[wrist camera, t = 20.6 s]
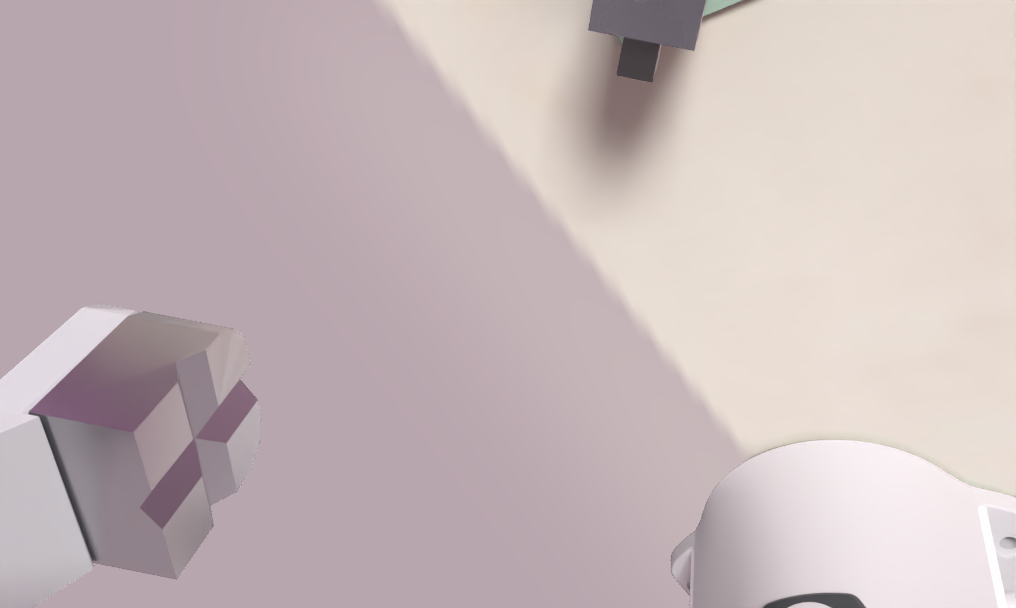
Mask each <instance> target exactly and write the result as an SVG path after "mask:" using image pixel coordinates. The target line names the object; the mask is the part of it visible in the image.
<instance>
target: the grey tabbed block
mask: <svg viewBox="0 0 1016 608" xmlns="http://www.w3.org/2000/svg"><path fill="white" fill-rule="evenodd" d="M706 3H707V0H593V5H592V11H591V17H590V23H589V29H588V30H590V31H595V32H600V33H605V34H610V35H616V36H621V37H624V39H623V44H622V49H621V55H620V60H619V66H618V71H617V75H618V76H623V77H628V78H633V79H638V80H643V81H648V82H653V79H654V76H655V73H656V70H657V66H658V61H659V56H660V52H661V47H662V45H667V46H672V47H678V48H683V49H688V50H693V51H694V49H695V45H696V42H697V38H698V34H699V30H700V26H701V22H702V19H703V15H704V11H705V7H706Z"/></svg>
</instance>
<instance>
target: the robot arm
mask: <svg viewBox="0 0 1016 608" xmlns="http://www.w3.org/2000/svg"><path fill="white" fill-rule="evenodd" d="M250 365H251V361H250V357H249V352H248V348H247V344H246V340H245V337H244V336H243V335H242V334H240V333H239V332H237V331H236V330H234V329H232V328H227V327H222V326H216V325H212V324H206V323H201V322H196V321H191V320H186V319H180V318H175V317H170V316H165V315H159V314H154V313H149V312H138V311H134V310H129V309H124V308H119V307H114V306H108V305H103V304H96V305H92V306H87V307H83V308H81V309H80V310H79V311H78V312H77V313H76V314H75V315H73V316H72V317H71V318H70V319H69V320H68V321H67V322H65V324H63V325H62V326H61V327H60V328H59V329H58V330H56V331H55V332H54V333H53V334H52V335H51V336H50V337H48V338H47V339H46V340H45V341H44V342H43V343H42V344H40V345H39V346H38V347H37V348H36V349H35V350H34V351H33V352H31V353H30V354H29V355H28V356H27V357H26V358H25V359H23V360H22V361H21V362H20V363H19V364H18V365H17V366H16V367H14V368H13V369H12V370H11V371H10V372H9V373H8V374H6V375H5V376H4V377H3V378H2V379H1V380H0V608H33V607H35V606H36V605H38V604H39V603H41V602H42V601H44V600H45V599H47V598H49V597H50V596H52V595H53V594H55V593H56V592H58V591H59V590H61V589H63V588H64V587H65V586H67V585H69V584H70V583H72V582H73V581H75V580H76V579H78V578H80V577H81V576H83V575H84V574H86V573H87V572H89V571H90V570H92V569H93V568H94V565H93V563H97V564H102V565H106V566H112V567H117V568H122V569H127V570H132V571H137V572H142V573H147V574H152V575H157V576H162V577H167V578H172V579H177V578H178V577H179V576H180V574H181V573H182V571H183V570H184V568H185V567H186V565H187V564H188V562H189V561H190V560H191V558H192V557H193V555H194V554H195V552H196V551H197V549H198V548H199V546H200V545H201V544H202V542H203V540H204V539H205V538H206V536H207V535H208V533H209V532H210V530H211V529H212V528H213V526H214V525H213V518H212V512H211V505H213V504H215V503H217V502H219V501H220V500H222V499H224V498H226V497H228V496H230V495H232V494H234V493H236V492H237V491H238V489H239V488H240V486H241V485H242V483H243V481H244V480H245V478H246V477H247V475H248V474H249V472H250V471H251V468H252V465H253V462H254V459H255V456H256V453H257V450H258V447H259V444H260V433H261V415H260V410H259V403H258V400H257V398H256V397H255V396H254V395H253V394H252V393H251V391H250V390H249V389H248V388H247V387H246V385H245V384H244V383H243V382H242V381H241V380H240V379H241V377H242V376H243V375H244V373H245V372H246V370H247V369H248V368H249V367H250ZM1006 537H1012V538H1006ZM671 572H672V575H673V576H674V578H675V579H676V580H677V582H678V583H679V584H680V585H681V586H682V587H683V589H684V590H685V591H686V592H687V593H688V594H689V595H690V608H1016V498H1015V497H1013V496H1009V495H1006V494H1002V493H998V492H994V491H990V490H986V489H981V488H977V487H972V486H970V485H968V484H966V483H964V482H962V481H960V480H958V479H956V478H955V477H953V476H952V475H950V474H948V473H947V472H945V471H944V470H942V469H940V468H939V467H937V466H935V465H934V464H932V463H930V462H928V461H926V460H924V459H922V458H920V457H918V456H915V455H913V454H910V453H908V452H905V451H902V450H899V449H895V448H892V447H888V446H884V445H879V444H875V443H869V442H862V441H852V440H816V441H807V442H800V443H795V444H790V445H786V446H782V447H778V448H775V449H772V450H769V451H766V452H764V453H761V454H759V455H757V456H755V457H753V458H751V459H749V460H747V461H745V462H744V463H742V464H740V465H739V466H738V467H736V468H735V469H733V470H732V471H731V472H730V473H728V474H727V475H726V476H725V477H724V478H723V479H722V480H721V481H720V482H719V484H718V485H717V486H716V487H715V489H714V490H713V492H712V493H711V495H710V497H709V498H708V500H707V503H706V505H705V508H704V511H703V514H702V517H701V520H700V523H699V525H698V527H697V528H696V530H695V531H694V532H693V533H691V534H690V535H689V536H688V537H687V538H685V539H684V540H683V541H682V542H681V543H680V544H679V545H678V546H677V547H676V548H675V549H674V551H673V552H672V555H671Z"/></svg>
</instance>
